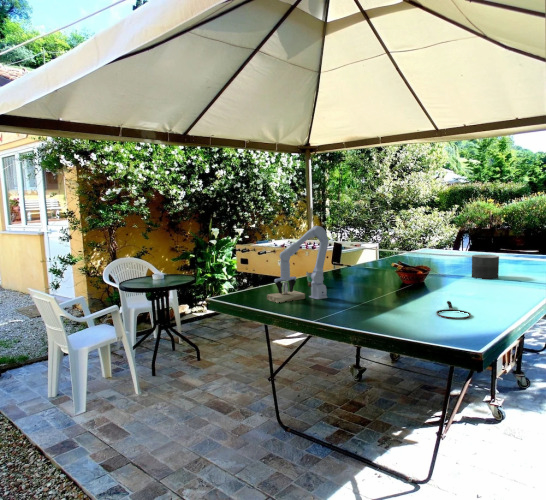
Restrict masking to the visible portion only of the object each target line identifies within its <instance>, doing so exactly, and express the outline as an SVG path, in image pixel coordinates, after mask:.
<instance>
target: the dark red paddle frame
mask: <svg viewBox="0 0 546 500" xmlns="http://www.w3.org/2000/svg"><path fill="white" fill-rule="evenodd" d="M446 304H447V306H448V308H446V309H445V308H444V309H439V310H437V311H435V314H436V315H438V316H439V317H440V316H441V318H443V317H446V318H445V319H449V318H465V319H467V317H468V318H470V317H471V315H472V313H471V312H469V311H466V310H461V309H454V308H453V304H452V302H451V301H450V300H447V301H446ZM442 311H460V312H464V313H468V314H469V316H468V315H466V316H460V317H459V316H456V317H455V316H448V315H442V314H440V313H439V312H442ZM438 313H439V314H438ZM442 313H443V312H442Z"/></svg>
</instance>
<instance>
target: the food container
mask: <svg viewBox="0 0 546 500" xmlns="http://www.w3.org/2000/svg"><path fill="white" fill-rule="evenodd" d="M311 274H312V272H308V271H306V273H305V275H306V279H307V286H308V287H310V288H311V282H312V279H311Z"/></svg>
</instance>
